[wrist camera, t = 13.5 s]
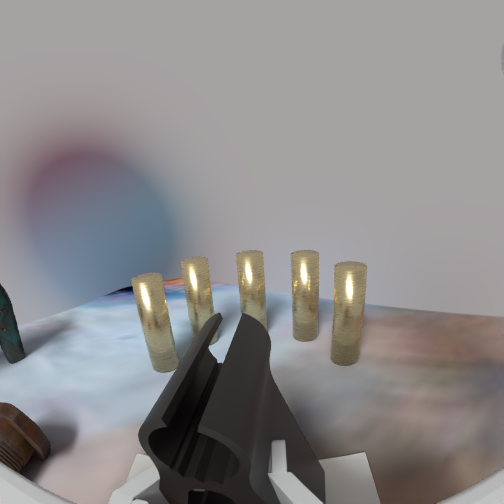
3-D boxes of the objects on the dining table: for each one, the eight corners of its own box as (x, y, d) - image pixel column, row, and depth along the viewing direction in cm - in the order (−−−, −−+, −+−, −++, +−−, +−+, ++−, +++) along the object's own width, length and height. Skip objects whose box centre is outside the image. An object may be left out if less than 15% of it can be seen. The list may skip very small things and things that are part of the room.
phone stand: (324, 474, 13) (347, 309, 10) (324, 552, 7) (386, 424, 5) (186, 465, 14) (134, 309, 12) (158, 533, 9) (46, 385, 6)
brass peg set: (339, 319, 35) (342, 244, 33) (362, 363, 26) (371, 269, 23) (173, 327, 36) (161, 255, 34) (149, 371, 27) (126, 283, 24)
